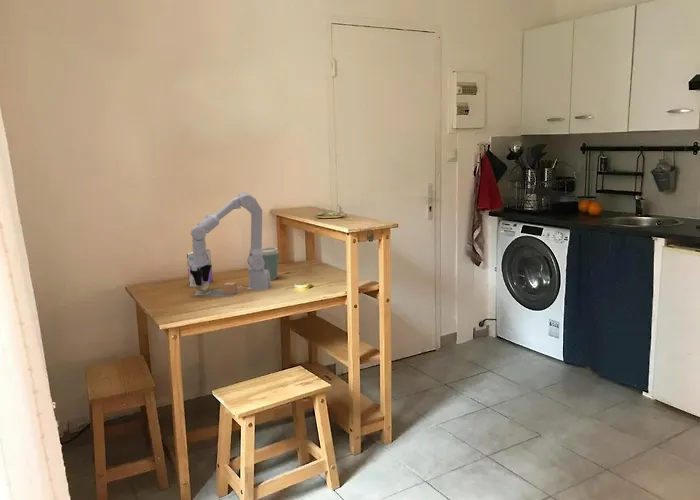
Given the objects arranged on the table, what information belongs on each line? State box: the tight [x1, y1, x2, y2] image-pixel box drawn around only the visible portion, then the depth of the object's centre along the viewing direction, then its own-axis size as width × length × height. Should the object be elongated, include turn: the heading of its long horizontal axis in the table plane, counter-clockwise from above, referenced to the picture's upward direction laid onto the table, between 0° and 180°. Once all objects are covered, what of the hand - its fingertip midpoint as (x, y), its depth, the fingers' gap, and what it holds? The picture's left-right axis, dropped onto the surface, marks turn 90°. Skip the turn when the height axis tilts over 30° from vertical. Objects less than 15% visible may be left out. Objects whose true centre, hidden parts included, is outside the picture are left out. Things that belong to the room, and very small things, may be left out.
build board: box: [191, 289, 241, 298], centre depth 262 cm, size 19×11×1 cm, turn 81°
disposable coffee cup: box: [262, 246, 280, 281], centre depth 288 cm, size 11×11×15 cm
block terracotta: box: [222, 281, 238, 295], centre depth 260 cm, size 4×4×4 cm
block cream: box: [195, 282, 211, 294], centre depth 263 cm, size 4×4×4 cm
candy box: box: [186, 248, 213, 288], centre depth 280 cm, size 14×6×16 cm, turn 168°
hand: (202, 283), depth 262 cm, fingers open, 7 cm apart
